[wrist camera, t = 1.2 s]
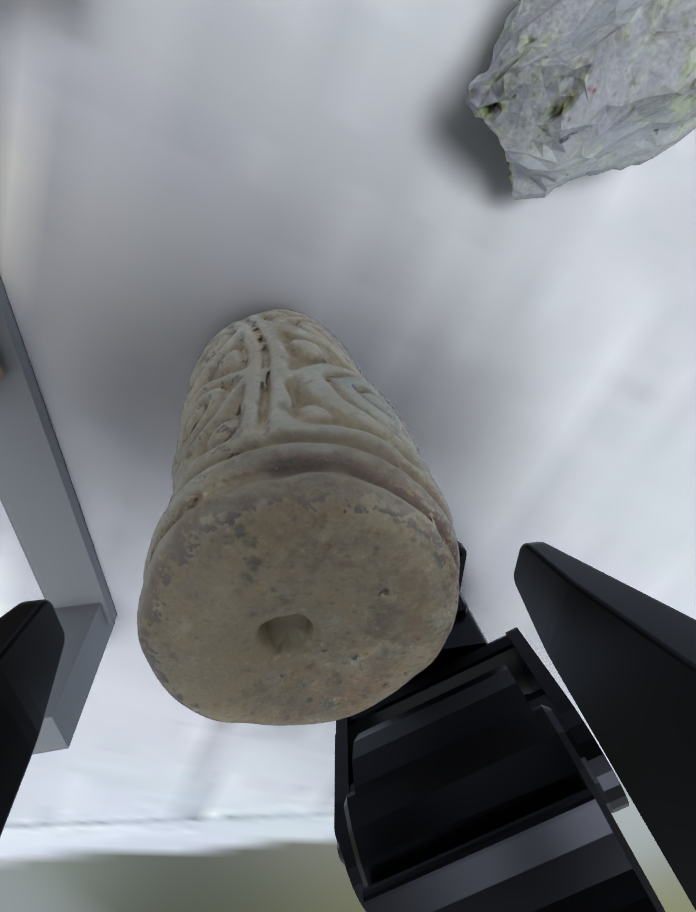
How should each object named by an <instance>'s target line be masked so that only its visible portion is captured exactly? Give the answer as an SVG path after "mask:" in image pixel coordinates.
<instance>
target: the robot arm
mask: <svg viewBox="0 0 696 912" xmlns="http://www.w3.org/2000/svg"><path fill="white" fill-rule="evenodd" d="M458 547H459V557H460V568H459V598H458V608H457V613H456V617H455V621H454V624H453V627H452V630H451V632H450V634H449V636H448V637H447V639H446V642H445V644H444V645H443V647H442V649H441V651H440V652H439V653H438V656H437V657H436V658H435V659H434V661H433V662H432V663H431V664H430V665H429V666H427V667H426V668H425V669H424V670H422V671H421V672H420V673H418V674H417V675H415V676H414V677H413V678H412V679H410V680H409V681H408V682H407V683H406V684H404V685H403V686H402V687H401V688H399V689H398V690H397V691H395V692H394V693H392V694H391V695H389V696H388V697H386V698H385V699H383V700H381V701H380V702H378V703H377V704H375V705H373V706H371V707H369V708H367V709H366V710H364V711H362V712H359V713H357V714H355V715H352V716H350V717H346V718H343V719H340V720H336V734H335V813H334V829H335V836H336V839H337V849H338V854H339V857H340V860H341V862H342V863H343V864H344V865H345V866H346V870H347V873H348V876H349V878H350V881H351V884H352V887H353V889H354V891H355V893H356V895H357V897H358V899H359V901H360V903H361V904H362V906H363V908H364V909H365V911H366V912H665V910H664V908H663V906H662V905H661V903H660V901H659V900H658V897H657V895H656V894H655V892H654V890H653V888H652V886H651V885H650V883H649V881H648V879H647V878H646V876H645V874H644V872H643V870H642V868H641V867H640V865H639V863H638V861H637V860H636V858H635V856H634V854H633V852H632V850H631V849H630V847H629V845H628V843H627V842H626V840H625V838H624V837H623V834H622V833H621V831H620V829H619V827H618V825H617V823H616V822H615V820H614V818H613V816H612V814H611V813H614V812H616V811H619V810H621V809H623V808H625V807H627V806H629V802H628V799H627V797H626V795H625V793H624V790H623V789H622V786H621V784H620V782H619V781H618V779H617V777H616V775H615V773H614V771H613V769H612V768H611V766H610V764H609V762H608V761H607V759H606V757H605V756H604V754H603V752H602V750H601V749H600V747H599V745H598V744H597V742H596V740H595V739H594V737H593V736H592V734H591V732H590V731H589V729H588V728H587V726H586V724H585V723H584V721H583V720H582V718H581V717H580V715H579V714H578V712H577V711H576V709H575V708H574V706H573V705H572V703H571V702H570V700H569V699H568V697H567V696H566V695H565V693H564V692H563V691H562V689H561V688H560V686H559V685H558V684H557V682H556V681H555V679H554V678H553V677H552V675H551V674H550V673H549V671H548V670H547V668H546V667H545V666H544V664H543V663H542V661H541V660H540V659H539V657H538V656H537V655H536V653H535V652H534V650H533V649H532V648H531V646H530V645H529V643H528V642H527V641H526V639H525V638H524V637H523V635H522V634H521V632H520V631H519V630H518V628H517V627H516V628H514V629H512V630H510V631H508V632H506V635H505V636H503V637H501V638H499V639H496V640H494V641H492V642H490V643H487V641H486V639H485V637H484V635H483V633H482V632H481V630H480V628H479V626H478V624H477V623H476V621H475V619H474V617H473V615H472V613H471V612H470V610H469V608H468V606H467V603H466V601H465V600H464V598H463V596H462V594H461V592H460V588H461V582H462V577H463V571H464V566H465V560H466V554H467V553H466V550H465V548H464V547H463V545H462V544H460V543H458ZM514 580H515V584H516V587H517V589H518V591H519V593H520V595H521V598H522V600H523V602H524V604H525V606H526V609H527V611H528V613H529V615H530V617H531V620H532V622H533V624H534V626H535V628H536V631H537V633H538V635H539V637H540V639H541V641H542V643H543V646H544V648H545V650H546V652H547V653H548V655H549V657H550V659H551V661H552V663H553V664H554V666H555V668H556V670H557V671H558V673H559V675H560V676H561V678H562V680H563V682H564V683H565V685H566V687H567V689H568V690H569V692H570V694H571V695H572V697H573V699H574V701H575V702H576V704H577V706H578V708H579V709H580V711H581V713H582V715H583V716H584V718H585V720H586V721H587V723H588V725H589V727H590V728H591V730H592V732H593V734H594V735H595V737H596V739H597V740H598V742H599V744H600V746H601V747H602V749H603V751H604V753H605V754H606V756H607V758H608V759H609V761H610V763H611V765H612V766H613V768H614V770H615V772H616V773H617V775H618V777H619V778H620V780H621V782H622V784H623V785H624V787H625V788H626V791H627V792H628V794H629V796H630V797H631V799H632V801H633V803H634V804H635V806H636V808H637V810H638V811H639V813H640V815H641V816H642V818H643V820H644V822H645V823H646V825H647V827H648V829H649V830H650V832H651V834H652V836H653V837H654V839H655V841H656V842H657V844H658V846H659V847H660V849H661V851H662V853H663V855H664V856H665V858H666V860H667V861H668V863H669V865H670V866H671V868H672V870H673V872H674V874H675V875H676V877H677V879H678V880H679V882H680V884H681V885H682V887H683V889H684V891H685V892H686V894H687V896H688V898H689V899H690V901H691V903H692V905H693V906H694V908H695V910H696V620H695V619H693V618H691V617H689V616H687V615H685V614H683V613H681V612H679V611H677V610H675V609H673V608H671V607H669V606H667V605H665V604H664V603H662V602H660V601H658V600H656V599H654V598H652V597H650V596H648V595H646V594H644V593H642V592H640V591H638V590H636V589H634V588H632V587H630V586H628V585H626V584H624V583H622V582H620V581H618V580H617V579H615V578H613V577H611V576H609V575H607V574H605V573H603V572H601V571H599V570H597V569H595V568H593V567H591V566H589V565H587V564H585V563H583V562H581V561H579V560H577V559H575V558H573V557H571V556H570V555H568V554H566V553H564V552H562V551H560V550H558V549H556V548H554V547H552V546H550V545H548V544H546V543H544V542H532V543H525V544H523V545H522V546H521V548H520V551H519V555H518V559H517V563H516V567H515V571H514ZM64 643H65V633H64V629H63V627H62V625H61V622H60V620H59V618H58V615H57V613H56V611H55V608H54V606H53V604H52V603H51V602H50V601H49V600H35V601H26V602H22V603H20V604H18V605H17V606H15V607H14V608H13V609H11V610H10V611H9V612H7V613H6V614H5V615H3V616H2V617H1V618H0V836H1V834H2V831H3V828H4V826H5V823H6V821H7V818H8V816H9V813H10V810H11V808H12V805H13V803H14V800H15V797H16V795H17V792H18V790H19V787H20V784H21V782H22V779H23V777H24V774H25V772H26V769H27V766H28V764H29V761H30V759H31V756H32V753H33V751H34V748H35V745H36V743H37V740H38V737H39V734H40V731H41V728H42V724H43V721H44V717H45V714H46V710H47V706H48V703H49V699H50V695H51V692H52V688H53V684H54V681H55V677H56V673H57V670H58V666H59V662H60V659H61V655H62V651H63V648H64Z"/></svg>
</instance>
